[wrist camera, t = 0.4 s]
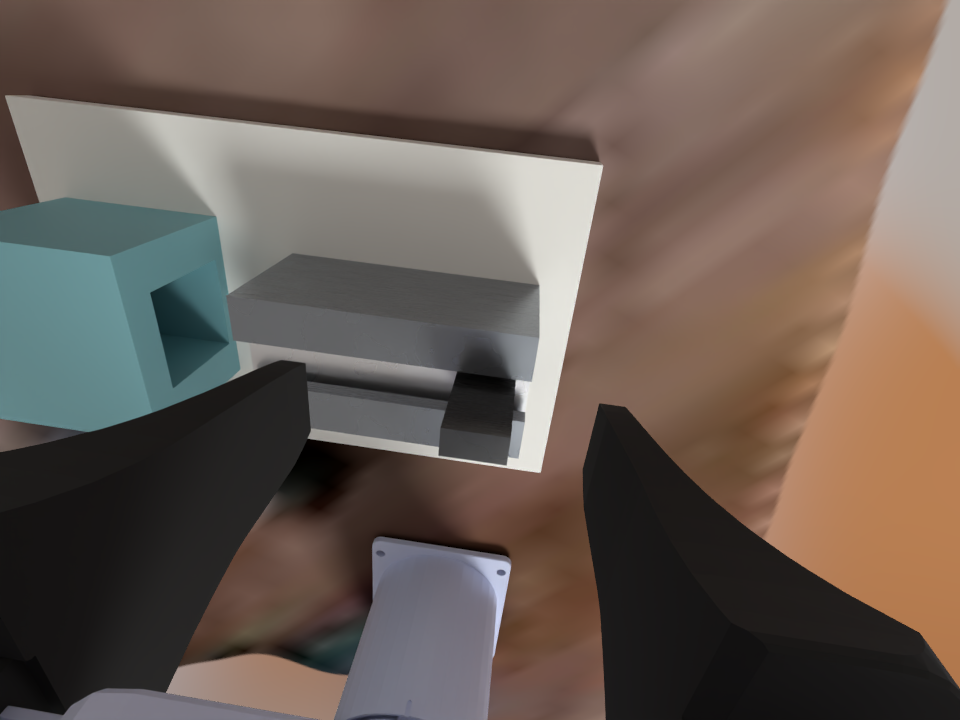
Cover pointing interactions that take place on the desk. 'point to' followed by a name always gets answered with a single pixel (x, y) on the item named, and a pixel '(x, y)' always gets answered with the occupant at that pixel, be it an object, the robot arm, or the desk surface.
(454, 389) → the bar
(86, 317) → the socket
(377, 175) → the base board
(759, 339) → the desk surface
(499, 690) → the desk surface
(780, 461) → the desk surface
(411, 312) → the grey rail guide
